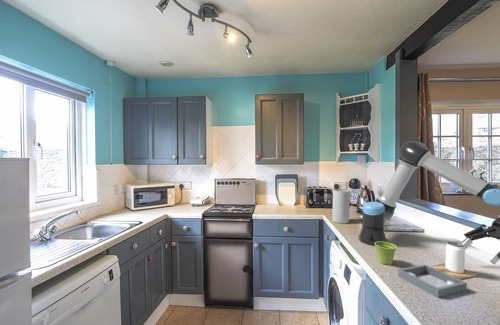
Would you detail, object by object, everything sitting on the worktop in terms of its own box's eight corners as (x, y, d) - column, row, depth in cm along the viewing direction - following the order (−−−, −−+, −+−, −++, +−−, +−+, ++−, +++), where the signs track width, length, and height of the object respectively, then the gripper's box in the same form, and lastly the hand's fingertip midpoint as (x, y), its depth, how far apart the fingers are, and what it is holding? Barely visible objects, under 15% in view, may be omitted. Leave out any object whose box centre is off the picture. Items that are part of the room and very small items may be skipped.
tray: (398, 276, 101) (398, 269, 101) (424, 271, 106) (424, 264, 106) (437, 297, 85) (438, 289, 85) (466, 290, 90) (466, 283, 90)
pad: (430, 266, 110) (430, 265, 110) (448, 263, 113) (448, 262, 113) (460, 279, 98) (460, 278, 98) (478, 275, 102) (478, 274, 102)
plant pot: (387, 268, 108) (388, 249, 108) (369, 259, 116) (370, 242, 116) (400, 264, 111) (401, 246, 111) (382, 256, 120) (383, 240, 120)
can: (445, 265, 110) (445, 240, 110) (463, 269, 106) (464, 244, 106) (445, 270, 105) (446, 244, 105) (464, 275, 101) (465, 248, 101)
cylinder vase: (352, 222, 182) (353, 191, 181) (340, 224, 177) (341, 191, 176) (340, 218, 193) (340, 188, 193) (328, 220, 188) (329, 189, 187)
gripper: (549, 238, 94) (512, 274, 94) (484, 220, 119) (455, 250, 119) (537, 225, 94) (500, 262, 93) (474, 210, 119) (445, 239, 118)
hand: (475, 255), depth 106 cm, fingers open, 13 cm apart
